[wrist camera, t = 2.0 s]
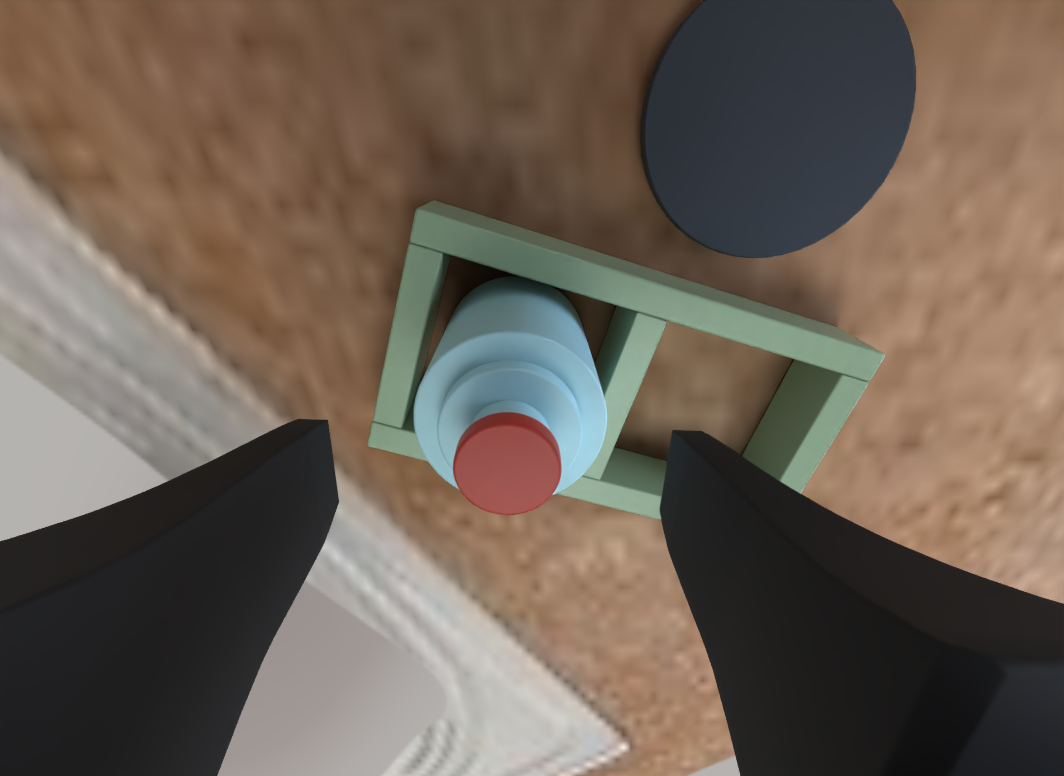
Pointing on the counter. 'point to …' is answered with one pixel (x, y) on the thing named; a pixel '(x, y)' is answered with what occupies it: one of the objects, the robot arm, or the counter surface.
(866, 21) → the coaster
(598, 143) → the counter surface
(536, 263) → the bottle rack
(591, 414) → the bottle
